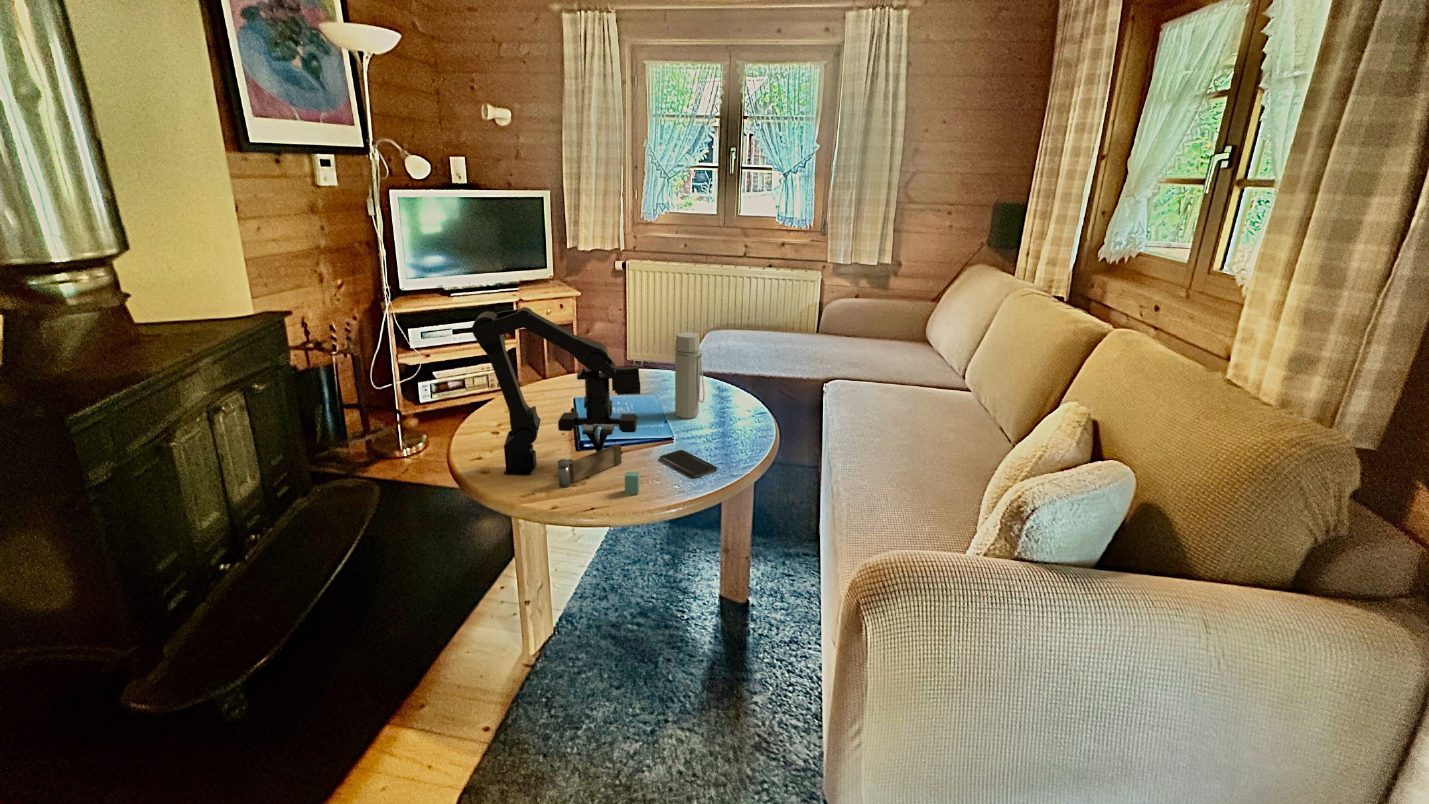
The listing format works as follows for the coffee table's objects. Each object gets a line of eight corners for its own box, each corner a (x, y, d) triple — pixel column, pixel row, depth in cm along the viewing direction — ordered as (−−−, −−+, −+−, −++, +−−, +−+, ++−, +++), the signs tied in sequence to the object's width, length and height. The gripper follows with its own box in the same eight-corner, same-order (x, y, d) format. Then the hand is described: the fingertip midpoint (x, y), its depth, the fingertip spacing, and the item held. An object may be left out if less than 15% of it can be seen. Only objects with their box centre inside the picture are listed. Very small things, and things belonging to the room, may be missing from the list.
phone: (695, 476, 163) (657, 456, 174) (695, 481, 164) (657, 460, 174) (719, 468, 168) (682, 448, 179) (719, 472, 169) (681, 452, 179)
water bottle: (670, 417, 202) (670, 336, 194) (681, 409, 209) (681, 330, 201) (699, 422, 199) (700, 339, 191) (708, 413, 206) (710, 333, 198)
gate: (563, 488, 157) (562, 464, 155) (556, 484, 159) (555, 461, 157) (622, 463, 171) (621, 441, 169) (615, 460, 172) (614, 438, 170)
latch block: (625, 494, 156) (624, 475, 154) (626, 489, 158) (625, 471, 156) (638, 494, 156) (637, 476, 154) (639, 489, 158) (638, 472, 156)
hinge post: (558, 487, 158) (557, 469, 156) (560, 483, 160) (559, 464, 159) (568, 488, 158) (567, 469, 156) (570, 483, 160) (569, 465, 159)
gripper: (639, 385, 171) (640, 442, 177) (565, 383, 171) (568, 440, 176) (634, 400, 161) (635, 460, 166) (556, 398, 161) (559, 458, 166)
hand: (599, 454), depth 169 cm, fingers closed
